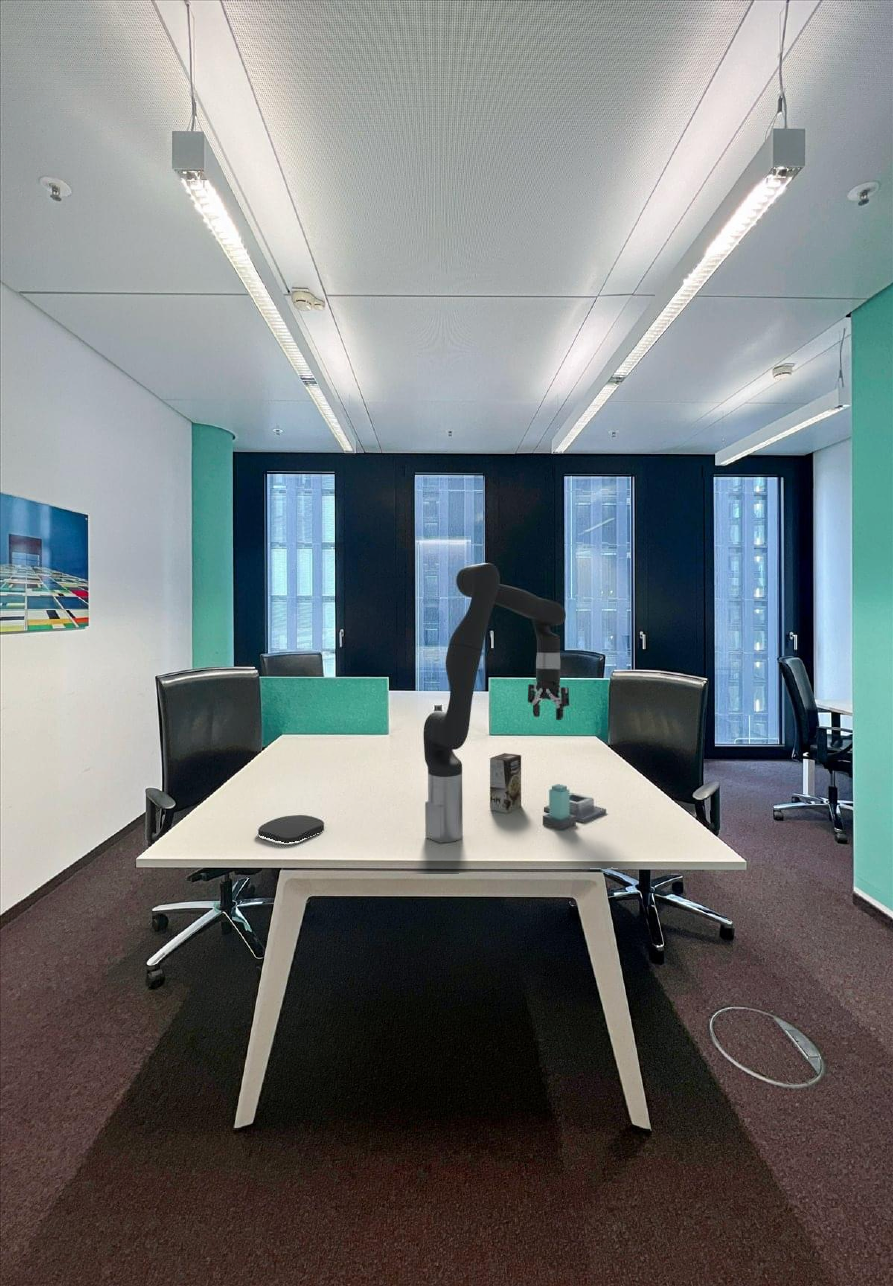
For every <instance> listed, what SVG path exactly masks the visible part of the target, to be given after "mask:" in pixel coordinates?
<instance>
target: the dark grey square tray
mask: <svg viewBox="0 0 893 1286" xmlns="http://www.w3.org/2000/svg"><path fill="white" fill-rule="evenodd" d="M542 825H543V826H547V827H549V828H552V829H556V830H558V831H561V832H563V831H565V830H567V829H570V828H571V827H574V826H577V821H576V816H574V815H571V814H569V817H568V818H566V819H563V820H559V819H556V818H552V817H549V813H546V814H543V815H542Z"/></svg>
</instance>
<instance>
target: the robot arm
mask: <svg viewBox="0 0 893 1286" xmlns="http://www.w3.org/2000/svg"><path fill="white" fill-rule="evenodd" d="M455 580H456V581H455V583H456V587H457V589H458V591H459V592H460V593H461V594H462V595H463V596H465V597H466V598H470V603H469V606H468V609H467V612H466V613H465V615H464V617H463V618H462V619H461V621H460V623H459V624H458V625H457V627H456V629H454V630H453V631H454V632H453V633H452V635H451V637H450V639H449V643H448V647H447V652H446V656H445V672H446V677H447V681H448V685H449V701H448V705H447V710H446V711H434V712H432V713H430V714H429V715H428V716H427V718H426V719H425V722H424V724H423V749H424V751H423V753H424V754H423V755H424V761H425V764H426V766H427V801H425V804H424V814H425V815H424V816H425V818H424V820H425V826H424V827H425V829H424V831H425V838H426V839H429V840H432V841H434V842H436V843H438V844H443V843H451V842H452V843H453V842H456V841H459V840H461V839H462V838H463V836H464V835H463V833H464V832H463V828H464V827H463V825H464V824H463V822H464V821H463V819H464V818H463V817H464V815H463V812H464V811H463V763H462V761H461V760H460V759H459V758H458V757H457V756H456V754H455V752H454V751H455V750H458V749H460V748H461V747H463V745H464V744H465V742H466V740H467V738H468V734H469V731H470V721H471V711H472V705H473V704H472V703H473V697H474V696H473V695H474V691H475V686H476V680H477V675H478V671H479V666H480V662H481V658H482V652H483V649H484V641H485V637H486V634H487V633H486V632H487V629H488V625H489V621H490V617H491V614H492V611H493V608H494V604H495V605H497V606H499V607H502V608H505V609H507V610H510V611H512V612H515V613H517V614H518V615H521V616H524V617H525V618H528V619H532V621H531V622H532V625H533V628H534V633H535V637H536V640H537V642H536V650H537V651H536V657H535V658H536V660H535V681H536V683H530V684H528V688H527V702H528V703H530V704H531V705H532V715H533V717H534V718H538V717H540V715H541V705H540V703H541V702H542V701H543V700H546V699H547V700H551V701H552V702H553V703H554V705H555V706H556V708H555V720H556V721H561V720H562V719H563V718H564V708H566V707H569V706H570V692H569V687H568V686H560V683H561V656H560V653H561V651H560V650H561V648H560V645H561V643H560V642H561V641H560V640H561V639H560V636H559V635H558V634H556V633H553V632H551V629H550V627H556V626H559V625H562V624H563V623H564V621H565V620H566V616H567V615H566V610H565V608H564V607H563V605H561V604H560V603H558V602H556V601H553V600H549V599H546V598H541V597H538V596H536V595H535V594H533V593H531V592H529V591H526V590H525V589H524V590H523V589H521V588H518V587H513V586H509V585H505V584H501V582H500V573H499V570H498V568H497V567H496V566H495V564H493V563H489V562H487V563H486V562H484V563H483V562H482V563H477V564H470V565H467V566H465V567H462V568H461V569H460V570H459V571H458V572H457V576H456V579H455ZM536 692H537V693H536Z"/></svg>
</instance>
